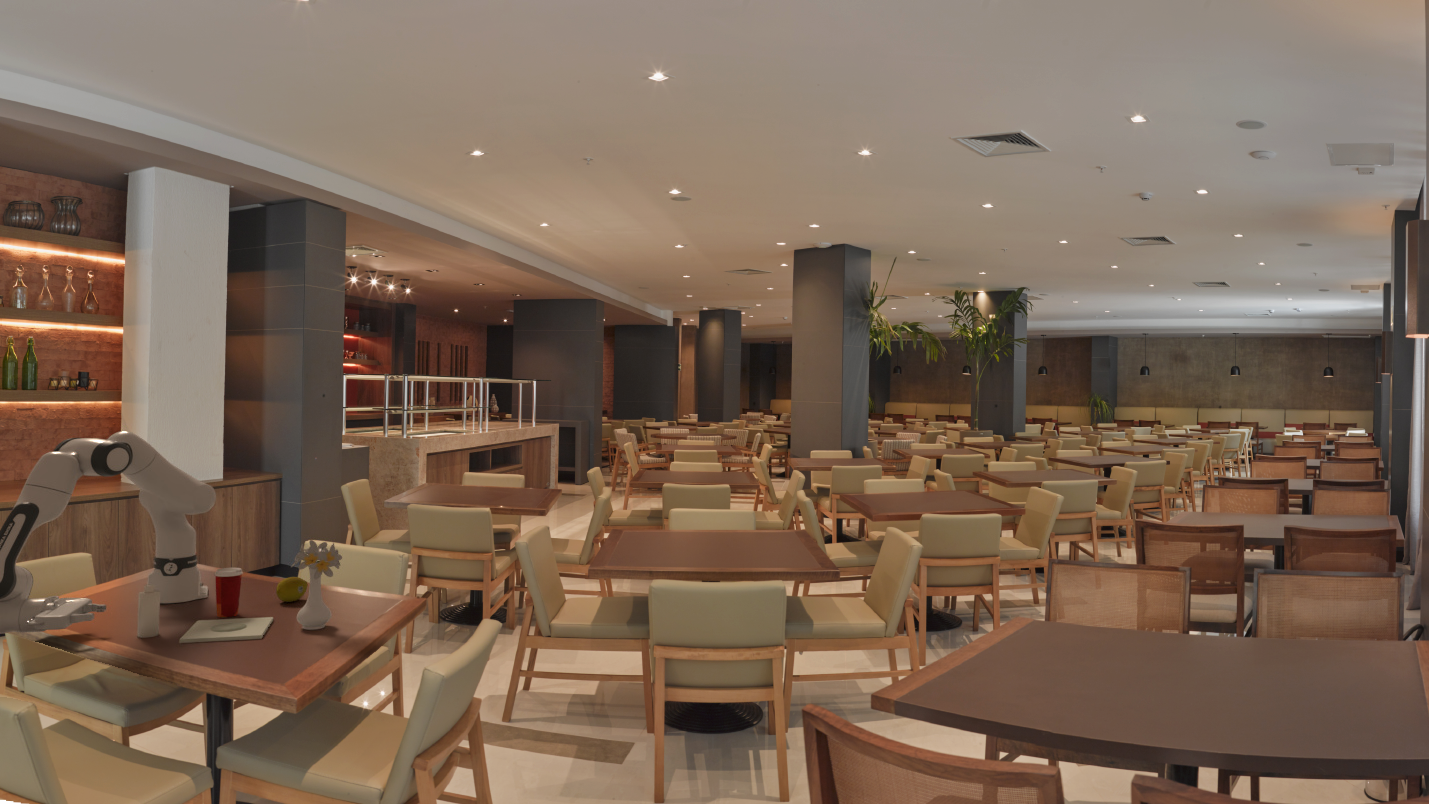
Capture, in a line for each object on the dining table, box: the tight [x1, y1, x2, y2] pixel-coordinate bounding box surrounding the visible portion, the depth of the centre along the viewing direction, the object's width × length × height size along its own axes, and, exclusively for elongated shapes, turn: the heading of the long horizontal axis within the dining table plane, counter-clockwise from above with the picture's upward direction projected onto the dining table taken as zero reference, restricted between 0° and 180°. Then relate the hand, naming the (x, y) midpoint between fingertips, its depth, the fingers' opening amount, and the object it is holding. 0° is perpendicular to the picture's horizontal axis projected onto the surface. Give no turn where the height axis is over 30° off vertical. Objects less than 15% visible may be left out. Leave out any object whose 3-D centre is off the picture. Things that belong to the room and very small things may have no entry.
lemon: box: [275, 576, 309, 603], centre depth 281 cm, size 11×8×8 cm
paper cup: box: [214, 567, 244, 618], centre depth 262 cm, size 8×8×14 cm
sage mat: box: [179, 616, 274, 644], centre depth 245 cm, size 20×20×1 cm
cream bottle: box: [136, 584, 161, 639], centre depth 239 cm, size 5×5×14 cm
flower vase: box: [290, 539, 343, 631], centre depth 252 cm, size 13×18×25 cm
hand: (99, 612), depth 235 cm, fingers open, 8 cm apart
